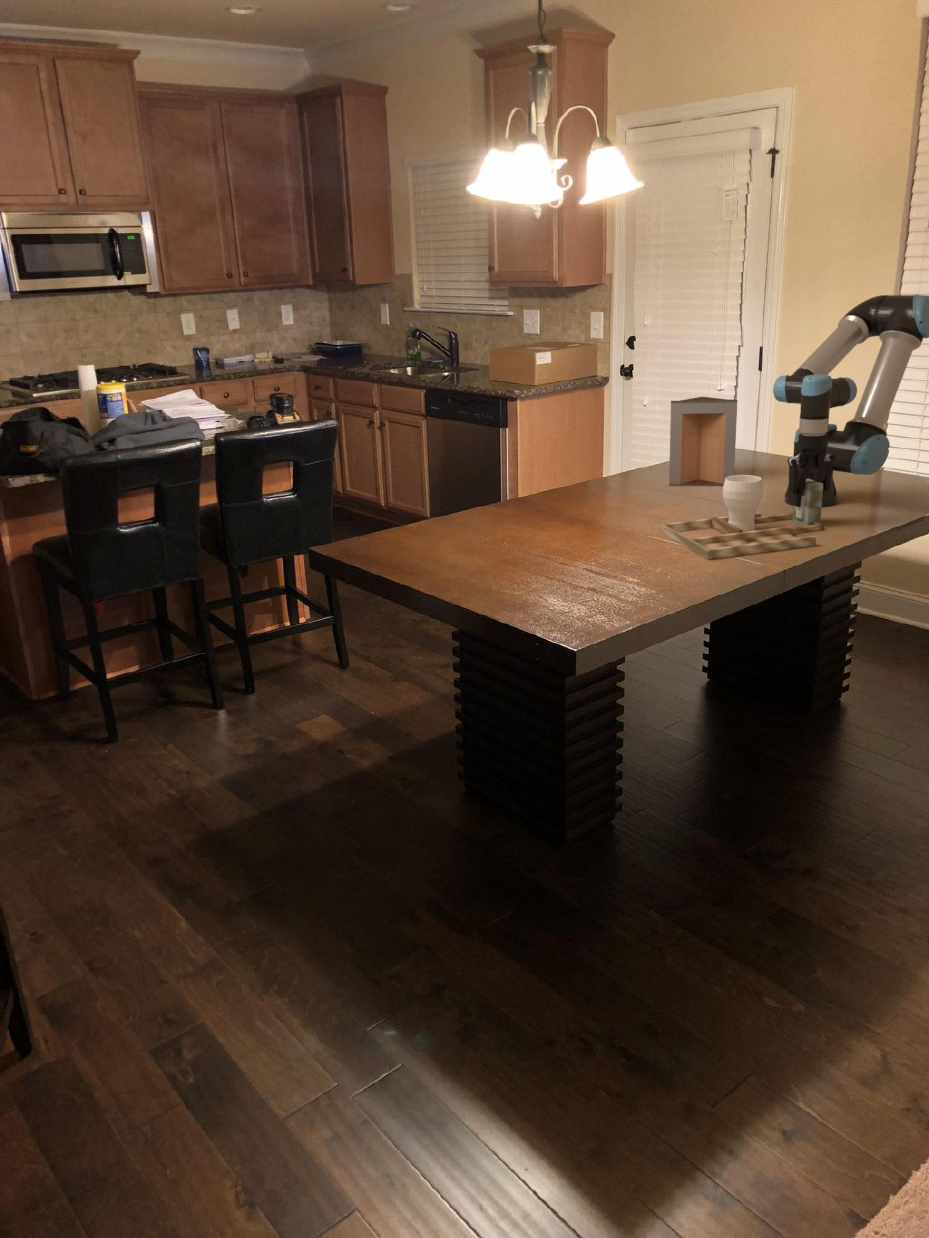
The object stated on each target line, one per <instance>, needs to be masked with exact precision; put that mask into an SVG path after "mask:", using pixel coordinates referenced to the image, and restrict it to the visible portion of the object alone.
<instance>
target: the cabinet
mask: <svg viewBox="0 0 929 1238" xmlns="http://www.w3.org/2000/svg"><path fill="white" fill-rule="evenodd" d="M737 419H738V399H737V398H735V399H728V398H727V399H726V398H717V397H709V396H708V397H707V396H698V397H692V398H687V399H681V400H670V428H669V429H670V430H669V434H670V436H669V473H668V481H669V482H668V486H669V487H723V486H724V482H725V478H726V477H729V476H734V475H735V463H736V440H737V439H736V438H737Z"/></svg>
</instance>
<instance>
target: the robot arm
mask: <svg viewBox="0 0 929 1238" xmlns="http://www.w3.org/2000/svg"><path fill="white" fill-rule="evenodd" d="M873 337H879V338H878V339H879V340H880V342H881V345H880V349H879V351H878V354H877V357H876V358H875V360H874V364H873V367H872V369H871V372H870V375H869V378H868V380H867V382H866V385H865V388H864V391H863V393H862V395H861V398H860V401H859V404H858V407H857V409H856V412H855V414H854V417H853V418H852V419H850V420H848V421H847V422H846V423H845V425H844V428H843V430H838V427H837V424H835V423H829V420H830V409H832V408H833V409H834V408H838V407H844V406H846V405H848V404H850V403H852V402H853V401H854V400H855V399H856V397H857V393H858V387H857V384H856V381H854V380H853V379H852V378H850V377H846V376H845V377H841V376H839V377H838V378H833V377H832V376H831V375H829V374H830V373H831V372H832V371H834V369H835V368H836V367H837V366H838V365H839V364H840V363H841V362H842V361H843V360H844V359H845V357H847V355H848V354H849V353H850V352H852V351H853V350H854V348H855V347H856V346H857V345H860V344H863V343H864V342H865V341H866V340H867V339H869V338H873ZM924 339H929V295H922V294H921V295H920V294H912V295H911V294H909V295H908V294H907V295H903V294H900V295H898V294H896V295H895V294H894V295H893V294H892V295H888V294H885V295H883V294H881V295H877V296H876V295H875V296H872V297H871V298H867V299H866V300H864V301H862V302H861V303H858V304H857V305H856V306H854V307H853V308H851V309H850V310H849V311H848V312H847V313H846V314H844V316H843V317H842V318H840V320H839V321H838V324H837V327H836V329H835V330H834V331H833V332H832V333H831V334H829V336H827V337H826V339H825V340H824V341H823V342H822V343H821V344H820V345H819V346H818V347H817V348H816V349H815V350H814V351H813V352H812V354H810V356H808V358H806V360H805V361H803V363H801V365H800V366H799V367H798V368H797V369H795V371H794V372H793V373H792V374H791V375H789V374H786V375H780V376H778V377H777V378H776V380H775V381H774V384H773V389H772V394H773V397H774V399H775V400H776V401H778V402H780V403H781V402H782V403H787V404H795V405H797V404H799V405H800V414H799V424H798V425H799V427H798V429H797V430H796V431H795V434H794V441H793V457H792V458H791V457H788V458H787V463H788V469H789V470H788V485H787V488H786V491H785V492H784V502H785V503H786V504H788V505H793V506H794V505H795V506H796V517H798V518H800V519H803V517H804V503H805V496H804V495H802V494H803V491H804V487H805V483H806V479H811V480H814V481H817V482H820V483H823V494H822V507H829V506H833V505H835V504H837V502H838V492H837V490H836V489H837V488H836V484H835V480H834V477H833V476H834V471H835V472H841V473H848V474H854V475H864V476H865V475H866V476H870V475H873V474H875V473H876V472H878V471H880V470H881V469H882V467H883V466H884V464H885V463H886V461H887V458H888V457H889V454H890V447H891V445H890V444H891V443H890V440H889V438H888V437H887V435H888V432H887V430H886V428H885V424H886V423H887V422H886V421H887V419H888V417H889V414H890V411H891V408H892V406H893V403H894V400H895V399H896V395H897V392H898V390H899V388H900V384H901V382H902V381H903V377H904V376H905V372H906V369H907V366H908V364H909V361H910V359H911V356H912V353H913V352H914V351H915V350H918V349H919V348H920V347H921V346H922V342H923V340H924ZM822 507H821V508H822Z"/></svg>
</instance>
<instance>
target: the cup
mask: <svg viewBox="0 0 929 1238" xmlns="http://www.w3.org/2000/svg"><path fill="white" fill-rule="evenodd" d="M763 485H764V484H763V479H762V477H760V476H757V475H750V474H736V475H735V474H734V476H729V477H726V478H725V482H724V486H722V499H723V502H724V504H725V507H726V509H727V511H728V515H727V516H729V521H728V523H730V524H732V525H734V526H736V527H738V528H740V529H742V530H743V532H749V531H756V525H755V523H754V517H755V513H757V512H756V511H757V510H758V507H759V506H760V504H761V502H762V499H763V497H764V496H763V494H764V486H763Z"/></svg>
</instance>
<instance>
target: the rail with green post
mask: <svg viewBox="0 0 929 1238" xmlns="http://www.w3.org/2000/svg"><path fill="white" fill-rule="evenodd" d="M822 494H823V483H820V482H817V481H814V480H811V479H806V483H805V487H804V491H803V494H802V495H804V496H805V503H804V517H803V519H800V518H798V517H796V506H795V505H793V512H791V513H783V514H775V515H774V514H773V515H767V516H761V517H757V518H754V523H755V524H765V523H772V522H780V521H788V520H792V522H793V523H795V524H798V525H800V526H795V527H794V526H793V527H794V530H793V535H794V534H802V533H803V534H804V533H810V532H819V531H824V529H825V524H822V523H821V517H822ZM711 529H714V530H715V531H717V532H720V533H721V534H722V535H725V534H733V533H741V532H743V530H742V529H740V528H738V527H736V526H734V525H732V524H730V523H728V521H723V520H721V519H719V518H718V517H717V516H716V517H715V516H713V517H712V527H711Z"/></svg>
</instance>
